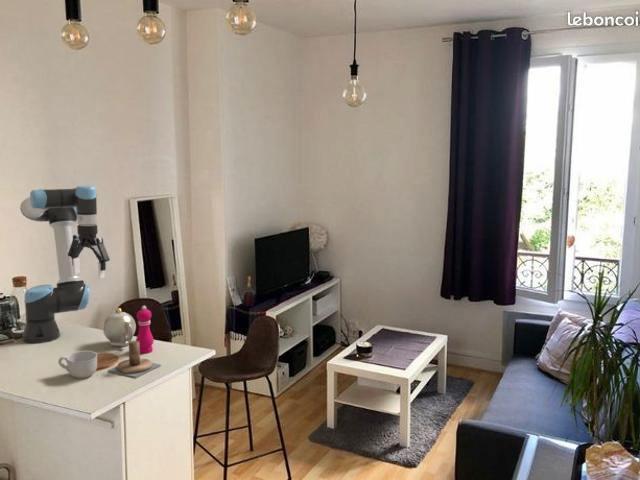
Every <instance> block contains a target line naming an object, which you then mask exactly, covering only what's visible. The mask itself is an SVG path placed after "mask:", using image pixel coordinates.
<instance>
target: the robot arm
mask: <svg viewBox="0 0 640 480" xmlns="http://www.w3.org/2000/svg"><path fill="white" fill-rule="evenodd" d="M97 203H98V202H97V189H96V186H94V185H78V186H76V187H73V188H58V189H57V188H55V189H53V188H52V189H41V188H40V189H39V188H38V189H32V190H31V191H30V193H29V197H27V198H25V199H24V200H23V201H21V203H20V207H19V209H20V213H21V214H22V215H23V216H24V217H25V218H27V219H28V220H30V221H34V222H48V224H49V226H50V227H51V228H52V229H53V235H54V241H55V242H54V243H55V251H56V260H57V269H58V276H59V277H58V278H59V280H58V281H57V282H56V287H54V286H53V285H52V284H40V285H35V286H32V287H30V288H28V289H27V290H26V291H25V292H24V300H23V301H24V309H25V326H24V329H23V332H22V341H23V342H25V343H31V344H38V343H48V342H52V341H54V340H57V339H58V338H60V335H61V333H60V329H59V327H58V324H57V322H56V317H55V314H59V313H60V314H61V313H67V312H77V311H80V310H85V309H87V307H88V305H89V302H90V301H89V300H90V287H89V285H88V284H87V283H84V282H85V280H84V279H83V278H82V277H80V274H81V264H80V263H81V261H80V259H81V258H80V256H79V255H80V254H81V253H82V251H83V250H84V248H87V249H90V250H92V252H93V253H94V255H95V256H96V259H97V260H98V262H97V268H98V271H97V273H98V275H97V276H98V277H97V278H98V280H100V279H104V278H106V265H107V264H106V263H107V262H109V261H110V256H109V253H108V252H107V248H106V247H105V244H104V239H103V237H97V234H98V225H97V224H98V212H97V211H98V208H97ZM76 224H77V226H76ZM75 226H76V227H77V228H76V229H77V234H75V229H74V227H75Z"/></svg>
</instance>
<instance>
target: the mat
mask: <svg viewBox="0 0 640 480" xmlns="http://www.w3.org/2000/svg"><path fill="white" fill-rule="evenodd" d="M161 366H162V365H161V364H159V363H155V362H152V367H151V368H150V369H149V370H147V371H145V372H141V373H134V374H127V373H122V372H119V371H118V369H117V365H116V366H114V367H111V368H110V369H107V372H109V373H113V374H118V375H122V376H124V377H125V376H126V377H129V378H134V379H137V378H139V377H141V376H143V375H146V374H147V373H149V372H152V371H154V370H156V369H158V368H160V367H161Z"/></svg>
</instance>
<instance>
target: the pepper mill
mask: <svg viewBox="0 0 640 480" xmlns="http://www.w3.org/2000/svg"><path fill="white" fill-rule="evenodd" d="M136 318H137V320H138V321H137V323H138V327H139V330H138V334H137V336H136V339H135V341H139V343H140V355H143V354H144V355H145V354H150V353H152V352H153V347H154V346H153V345H154V336H153V334H152V332H151V329H150V325H151V318H152V311H150V310H149V309H148V308H147V306H146V305H142V307H141V309H140V310H138V311H137V313H136Z"/></svg>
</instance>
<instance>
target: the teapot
mask: <svg viewBox="0 0 640 480" xmlns="http://www.w3.org/2000/svg"><path fill="white" fill-rule="evenodd" d="M136 329H137V325H136V321H135V319H134V317H133V316H132V315H131V314H129V313H127V312H125V311H122V308H120V307H118V308H117V309H116V311H115V312H110V313H109V315H108V316H107V317H106V319H104V322H103V325H102V332H103V334H104V337H105V338H106V339H107V340H108V341H109V342H108V343H109V346H110V347H113V348H123V347H127V346H129V342H130V341H133V340H132V339H133V337H134V335H135V332H136Z"/></svg>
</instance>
